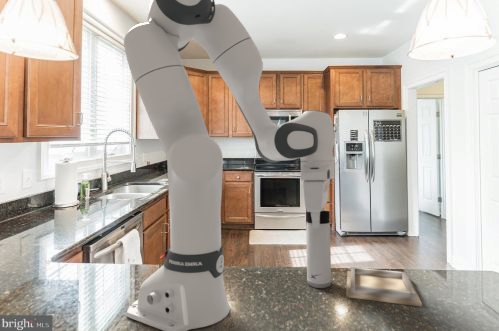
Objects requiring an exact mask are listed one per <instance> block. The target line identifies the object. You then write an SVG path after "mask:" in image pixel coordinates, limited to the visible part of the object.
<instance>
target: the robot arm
mask: <svg viewBox="0 0 499 331" xmlns="http://www.w3.org/2000/svg"><path fill="white" fill-rule="evenodd" d="M191 40H192V41H193V42H195V43H197V44H198V45H200V47H202V49H203V50H204V51H206V53H207V55H208V57H209V60H210V61H211V63H212V64H213V65H214V67H215V69H216V70H217V72H218V74H219V75H220V77H221V78H222V80H223V81H224V83H225V84H226V86H227V88H228V90H229V92H230V93H231V96H232V97H233V99H234V101H235V102H236V104H237V106H238V108H239V110H240V113H241V114H242V115H243V116H242V117H244V120H245V121H246V123H247V125H248V127H249V128H250V131H251V133H252V136H253V139H254V146H255V149H256V152H257V154H258V156H259V157H260V158H261V159H262V160H263V161H265V162H267V163H278V162H282V161H283V162H285V161H294V160H297V159H300V180H301V181H303V182H302V185H303V186H302V187H303V196H304V197H303V199H304V206H305V210H306V212H311V218H312V227H313V228H319V227H320V212H321V211H325V206H326V205H327V203H328V201H329V193H328V191H329V188H328V186H329V185H330V184H331V183H330V182H331V180H334V179H335V176H336V175H335V157H334V150H333V149H334V146H335V131H334V125H333V124H334V123H333V119H332V117H331V115H330V114H329V113H327V112H325V111H321V110H317V109H316V110H315V109H314V110H313V109H312V110H311V109H310V110H306V111H303V112H302V113H301V114H300V115H299V116H297V117H295V118H293V119H291V120H289V121H286V122H283V123H280V124H278V125H276V124H275V123H274V122H273V121H272V119H271V117H270V115H269V114H268V112H267V109H266V107H265V106H264V104H263V102H262V100H261V98H260V96H261V95H260V92H259V87H260V86H259V85H260V81H261V77H262V74H263V69H264V68H263V66H264V63H263V59H262V56H261V54H260V51H259V49H258V47H257V45H256V43H255V42H254V40H253V38H252V36H251V35H250V34H249V32H248V30H247V28H246V27H245V26H244V24H243V23H242V22H241V20H240V19H239V18H238V16H237V15H235V13H234V12H233V11H232V10H231V8H229V6H227V5H225V4H221V3H215V0H150V3H149V6H148V12H147V17H146V22H144V23H139V24H136V25H135V26H133V27H131V28H130V29H129V30H128V31H127V32H126V33H125V35H124V40H123V46H124V52H125V55H126V61H127V63H128V68H129V70H130V74H131V76H132V79H133V82H134V84H135V87H136V89H137V92H138V93H139V97H140V100H141V101H142V103H143V106H144V108H145V111H146V113H147V115H148V118H149V120H150V123H151V125H152V127H153V130H154V131H155V134H156V136H157V138H158V140H159V143H160V144H161V147H162V150H163V152H164V153H165V156H166V161H167V184H168V187H167V188H168V204H169V206H168V207H169V231H170V232H169V233H170V234H169V235H170V237H169V238H170V241H169V242H170V243H169V244H170V247H169V248H167V249H166V250H165V251H163V252H162V253H159V256H160V257H159V259H160V260H162V259H164V258H165V260H164V262H163V265H162V266H161V267H159V268H158V269H156V271H154V272H153V273H152V274H150V276H149V277H147V278H145V280H144V281H143V282H142V283H141V285H140V287H139V291H138V296H137V300H135V301H134V302H133V303H132V304H131V305H129V307H127V311H126V317H127V318H129V319H132V320H135V321H137V322H140V323H143V324H145V325H147V326H150V327H153V328H155V329H158V330H161V331H189V330H192V329H193V330H194V329H199V328H205V327H208V326H211V325H214V324H217V323H219V322H221V321H222V320H223V319H225V318H226V317H227V316H228V314H229V313H230V309H231V306H230V304H229V300H228V297H227V294H226V288H225V281H224V267H225V260H224V259H225V258H224V246H223V245H222V228H221V227H222V220H221V213H222V212H221V210H222V208H221V207H222V197H223V196H222V195H223V171H224V170H223V168H224V165H223V164H224V157H223V152H222V150H221V149H222V148H221V146H220V145H219V144H218V142H217V141H216V140H215V139H214V138H212V137H211V136H210V135H209V131H208V128H207V126H206V123H205V120H204V116H203V113H202V110H201V107H200V103H199V100H198V98H197V96H196V93H195V91H194V88H193V85H192V83H191V80H190V77H189V76H188V72H187V71H186V68H185V65H184V63H183V61H182V58H181V56H180V52H182V51H183V50H184V49H185V48H186V47H187V46H188V45H189V43H190V41H191Z"/></svg>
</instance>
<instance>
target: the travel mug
mask: <svg viewBox="0 0 499 331" xmlns="http://www.w3.org/2000/svg"><path fill="white" fill-rule="evenodd" d="M330 212H331V211H329V210H324V211H321V212H320V227H319V228H313V227H312V218H311V212H307V211H306V214H305V216H306V217H305V218H306V219H305V222H306V223H305V225H306V226H305V227H306V228H305V230H306V232H305V233H306V237H305V238H306V239H305V240H306V283H307V285H308V286H310V287H312V288H315V289H325V288H329V287H330V286H332V264H331V262H332V260H331V259H332V258H331V254H332V252H331V250H332V249H331V219H330V218H331V217H330V216H331V214H330Z"/></svg>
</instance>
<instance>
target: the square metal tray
mask: <svg viewBox="0 0 499 331" xmlns="http://www.w3.org/2000/svg"><path fill="white" fill-rule="evenodd" d="M346 276H347V277H346V292H345V295H346V296H345V298H350V299H359V300H366V301H367V300H368V301H375V302H382V303H391V304H399V305H406V306H412V307H413V306H414V307H415V306H416V307H421V308H422V305H423V303H422V301H421V299H420V296H419V294H418V293H417V290H416V289H415V286H414V285H413V282H412V280H411V278H410V276H408V275H407V272H406V271H396V270H388V269H387V270H385V269H377V268H376V269H374V268H366V267H365V268H363V267H352V266H351V267H350V270H347V274H346Z"/></svg>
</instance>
